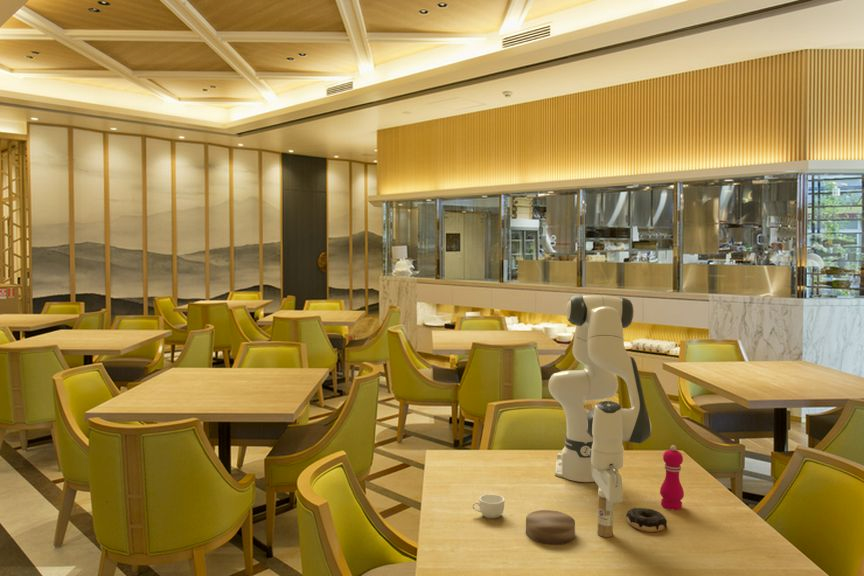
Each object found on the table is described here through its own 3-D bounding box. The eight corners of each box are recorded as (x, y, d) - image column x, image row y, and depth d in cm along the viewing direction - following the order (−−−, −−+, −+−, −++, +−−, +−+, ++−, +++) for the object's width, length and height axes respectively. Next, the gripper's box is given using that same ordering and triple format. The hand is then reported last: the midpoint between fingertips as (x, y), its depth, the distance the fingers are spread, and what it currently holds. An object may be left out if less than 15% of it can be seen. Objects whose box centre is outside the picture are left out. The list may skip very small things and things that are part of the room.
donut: (647, 537, 183) (647, 523, 182) (617, 521, 193) (617, 508, 193) (674, 529, 188) (674, 516, 188) (644, 514, 198) (644, 502, 198)
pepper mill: (685, 511, 200) (687, 449, 199) (661, 509, 202) (663, 448, 200) (681, 502, 207) (683, 442, 206) (658, 500, 209) (659, 441, 208)
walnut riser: (522, 522, 191) (522, 509, 191) (569, 523, 191) (569, 510, 190) (529, 544, 177) (529, 530, 177) (579, 544, 177) (579, 530, 176)
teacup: (500, 510, 200) (501, 493, 200) (507, 520, 193) (507, 502, 192) (469, 511, 199) (470, 494, 199) (474, 521, 191) (475, 504, 191)
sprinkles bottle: (594, 534, 183) (595, 489, 183) (601, 529, 187) (602, 484, 186) (609, 539, 180) (610, 493, 180) (616, 533, 184) (617, 488, 183)
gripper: (629, 471, 172) (627, 521, 173) (608, 448, 192) (607, 492, 193) (605, 471, 172) (604, 521, 173) (587, 448, 192) (586, 492, 193)
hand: (605, 505), depth 183 cm, fingers open, 5 cm apart
